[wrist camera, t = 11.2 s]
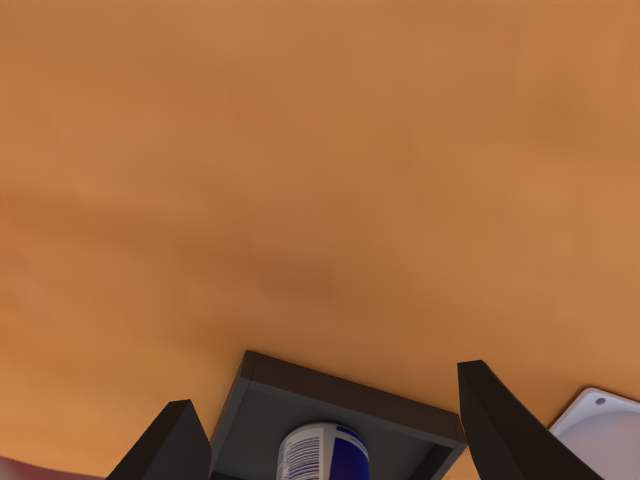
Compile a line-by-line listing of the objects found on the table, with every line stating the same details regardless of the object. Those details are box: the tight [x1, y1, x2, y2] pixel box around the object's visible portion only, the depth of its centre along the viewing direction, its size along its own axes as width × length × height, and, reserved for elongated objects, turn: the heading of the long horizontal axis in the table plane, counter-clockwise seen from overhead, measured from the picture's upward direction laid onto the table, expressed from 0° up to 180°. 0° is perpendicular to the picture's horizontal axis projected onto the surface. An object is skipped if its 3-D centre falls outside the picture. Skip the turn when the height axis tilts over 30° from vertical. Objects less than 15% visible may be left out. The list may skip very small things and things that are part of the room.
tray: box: [208, 350, 468, 480], centre depth 26 cm, size 13×10×2 cm
